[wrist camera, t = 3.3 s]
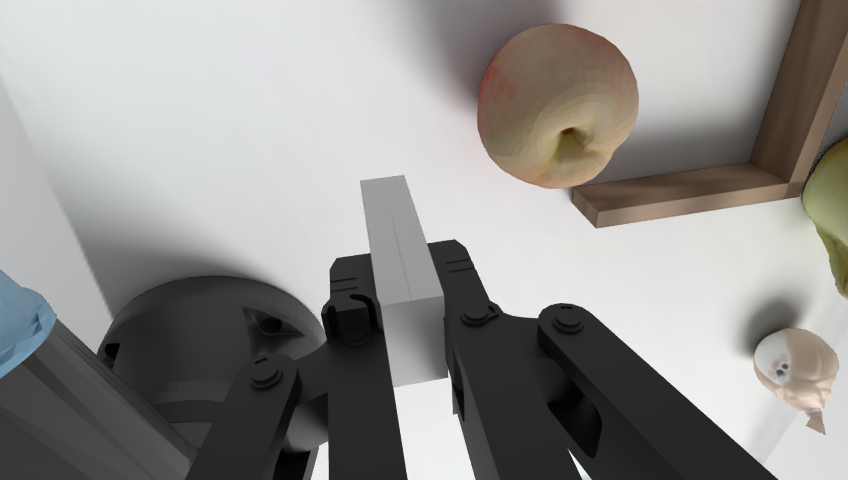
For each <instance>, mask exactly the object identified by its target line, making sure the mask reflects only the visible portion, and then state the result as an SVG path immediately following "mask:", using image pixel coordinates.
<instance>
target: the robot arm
mask: <svg viewBox="0 0 848 480" xmlns="http://www.w3.org/2000/svg"><path fill="white" fill-rule="evenodd" d="M360 184H361V191H362V198H363V205H364V211H365V218H366V225H367V232H368V239H369V245H370V252H371V253H368V254H361V255H355V256H348V257H341V258H336V260H335V262H334V263H333V265H332V267H331V268H330V299H329V300H328V302H327V303H326V304H325V305H324V306H323V308H322V312H321V317H322V322H323V326H324V330H325V332H324V330H323V328H322V326H321V324H320V323H319V321H318V320H317V319H316V317H315V316H314V315H313V314H312V313H311V312H310V311H309V310H308V309H307V308H306V307H305V306H304V305H302V304H301V303H300V302H299V301H297V300H296V299H294V298H293V297H291V296H289V295H288V294H286V293H284V292H282V291H280V290H278V289H276V288H273V287H271V286H268V285H265V284H262V283H259V282H256V281H251V280H247V279H242V278H235V277H225V276H203V277H193V278H186V279H181V280H177V281H173V282H169V283H166V284H163V285H160V286H158V287H155V288H153V289H151V290H149V291H147V292H145V293H143V294H142V295H140V296H138V297H137V298H135V299H134V300H133V301H131V302H130V303H129V304H128V305H127V306H125V307H124V308H123V309H122V310H121V312H120V313H119V314H118V315H117V316H116V318H115V319H114V321H113V322H112V324H111V326H110V328H109V330H108V332H107V334H106V335H105V337H104V339H103V341H102V343H101V345H100V347H99V349H98V352H97V355H96V354H95V353H94V352H92V351H91V350H90V349H89V348H88V347H87V346H86V345H85V344H84V343H83V342H82V341H81V340H80V339H79V338H77V337H76V336H75V335H74V334H73V333H72V332H71V331H70V330H69V329H68V328H67V327H66V326H65V325H64V324H62V323H61V322H60V321H59V320H58V319H57V318H56V314H55V313H54V312H53V310H52V308H51V307H50V305H49V304H48V303H47V301H46V300H45V299H44V298H43V296H42V295H40V294H39V293H37V292H35V291H33V290H31V289H28V288H23V287H21V286H19V285H18V284H17V283H16V282H15V281H13V280H12V279H11V278H10V277H8V276H7V275H6V274H5V273H4V272H3V271H1V270H0V480H311V476H312V472H313V469H314V465H315V461H316V457H317V454H318V449H319V445H321V444H323V443H325V442H327V441H328V446H329V480H408V479H407V473H406V467H405V460H404V454H403V447H402V441H401V435H400V428H399V422H398V416H397V409H396V403H395V396H394V390H393V387H398V386H404V385H409V384H415V383H420V382H426V381H431V380H437V379H442V378H448V369H449V373H450V376H451V380H452V401H453V414H458V417H459V421H460V425H461V428H462V432H463V436H464V439H465V443H466V446H467V450H468V454H469V457H470V461H471V465H472V468H473V472H474V475H475V479H476V480H582V478H581V476H580V474H579V472H578V470H577V467H576V465H575V463H574V461H573V459H572V457H571V455H570V453H569V451H570V452H571V453H572V455H573V456H574V457H575V458H576V460H577V461H578V462H579V464H580V465H581V466H582V467H583V469H584V470H585V471H586V473H587V474H588V475H589V476H590V478H591V479H592V480H778V479H777V478H775V476H773V475H772V474H771V473H770V472H769V471H768V470H767V469H766V468H764V467H763V466H762V465H761V464H760V463H759V462H758V461H757V460H755V459H754V458H753V457H752V456H751V455H750V454H749V453H748V452H747V451H745V450H744V449H743V448H742V447H741V446H740V445H739V444H738V443H736V442H735V441H734V440H733V439H732V438H731V437H730V436H729V435H727V434H726V433H725V432H724V431H723V430H722V429H721V428H720V427H718V426H717V425H716V424H715V423H714V422H713V421H712V420H711V419H709V418H708V417H707V416H706V415H705V414H704V413H703V412H702V411H700V410H699V409H698V408H697V407H696V406H695V405H694V404H693V403H691V402H690V401H689V400H688V399H687V398H686V397H685V396H684V395H682V394H681V393H680V392H679V391H678V390H677V389H676V388H675V387H673V386H672V385H671V384H670V383H669V382H668V381H667V380H666V379H665V378H663V377H662V376H661V375H660V374H659V373H658V372H657V371H656V370H654V369H653V368H652V367H651V366H650V365H649V364H648V363H647V362H645V361H644V360H643V359H642V358H641V357H640V356H639V355H638V354H636V353H635V352H634V351H633V350H632V349H631V348H630V347H629V346H627V345H626V344H625V343H624V342H623V341H622V340H621V339H620V338H618V337H617V336H616V335H615V334H614V333H613V332H612V331H611V330H609V329H608V328H607V327H606V326H605V325H604V324H603V323H602V322H600V321H599V320H598V319H597V318H596V317H595V316H594V315H593V314H592V313H590V312H589V311H587V310H585V309H584V308H582V307H580V306H576V305H573V304H565V303H559V304H554V305H550V306H548V307H546V308H545V309H543V310H542V312H541V313H540V315H539V318H525V317H516V316H512V315H508V314H505V313H503V311H502V310H501V308H500V307H499V306H498V305H497V304H495V303H493V302H491V301H490V300H489V297H488V295H487V293H486V291H485V289H484V286H483V284H482V282H481V280H480V278H479V275H478V273H477V271H476V269H475V267H474V264H473V262H472V261H471V258H470V256H469V253H468V251H467V249H466V247H464V246H463V245H462V244H460V243H459V242H458V241H456V240H455V239H454V240H447V241H441V242H434V243H426V240H425V237H424V234H423V231H422V228H421V225H420V222H419V219H418V216H417V213H416V210H415V207H414V204H413V201H412V198H411V195H410V192H409V189H408V186H407V183H406V180H405V177H404V175H401V176H393V177H386V178H378V179H371V180H363V181H360ZM568 449H569V451H568Z"/></svg>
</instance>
